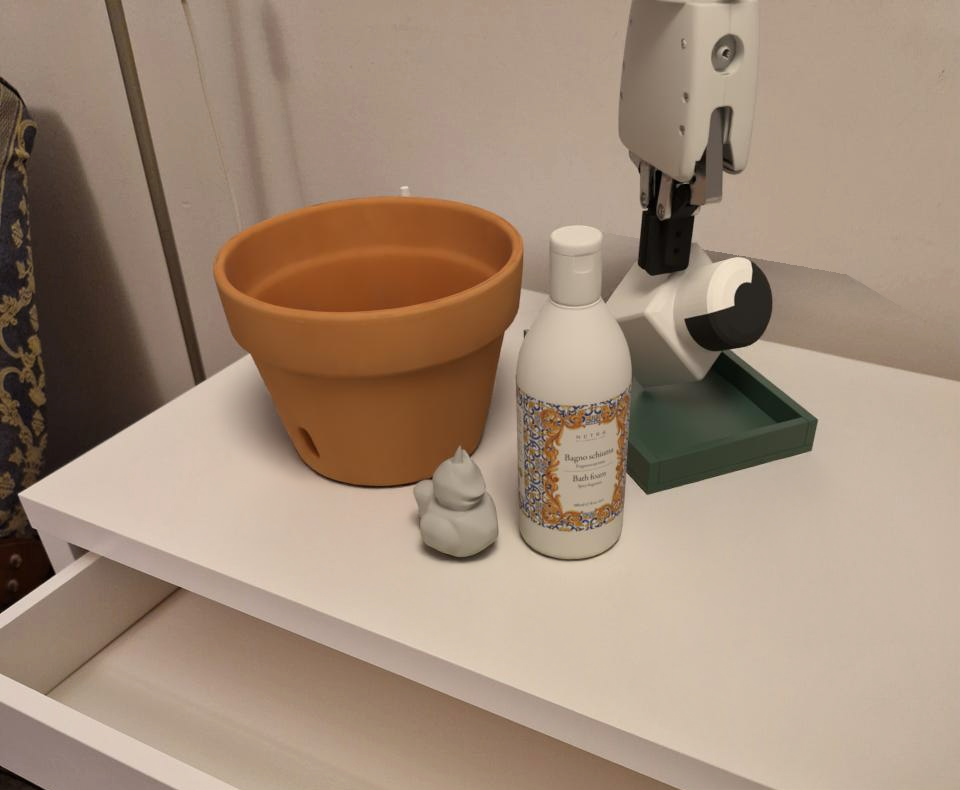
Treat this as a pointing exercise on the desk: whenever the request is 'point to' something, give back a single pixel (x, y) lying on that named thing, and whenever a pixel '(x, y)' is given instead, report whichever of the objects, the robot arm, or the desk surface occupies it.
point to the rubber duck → (456, 508)
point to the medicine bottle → (690, 316)
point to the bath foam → (573, 408)
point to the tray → (712, 426)
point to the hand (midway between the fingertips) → (662, 268)
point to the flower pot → (375, 327)
